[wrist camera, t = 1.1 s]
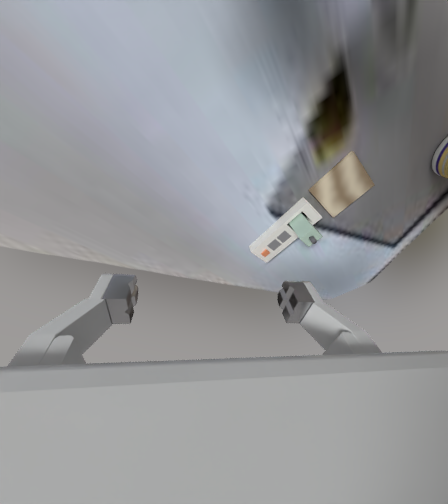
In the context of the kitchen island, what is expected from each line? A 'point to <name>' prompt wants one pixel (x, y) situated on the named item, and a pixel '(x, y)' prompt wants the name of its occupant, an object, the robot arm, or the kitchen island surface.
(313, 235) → the grey-green tall block
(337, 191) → the coaster
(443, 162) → the supplement tub
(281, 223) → the power strip
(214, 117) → the kitchen island surface
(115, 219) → the kitchen island surface
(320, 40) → the kitchen island surface
